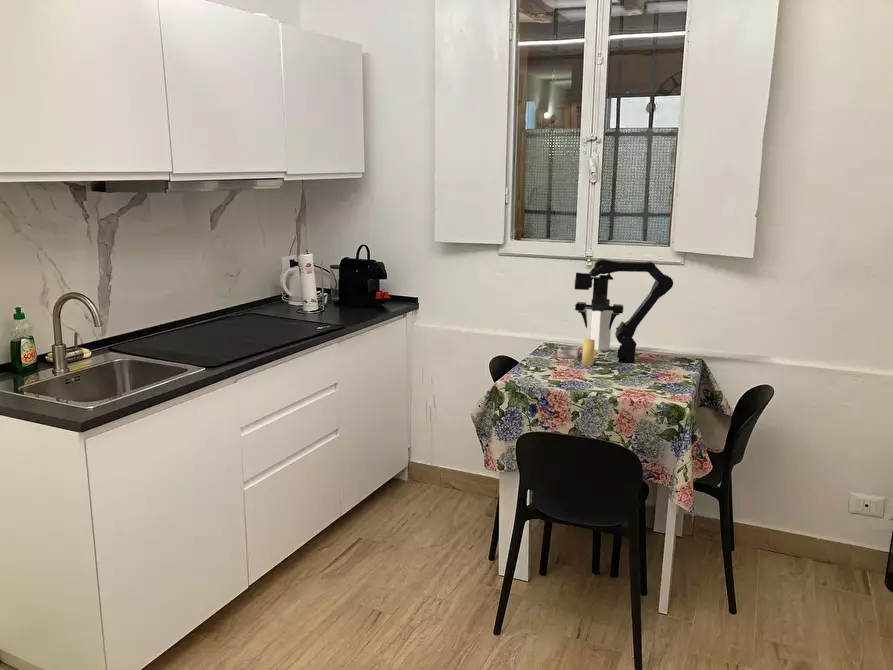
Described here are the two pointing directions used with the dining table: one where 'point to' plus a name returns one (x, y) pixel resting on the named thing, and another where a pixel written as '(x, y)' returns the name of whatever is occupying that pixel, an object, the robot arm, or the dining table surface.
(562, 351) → the stand
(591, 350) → the post
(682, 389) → the dining table surface
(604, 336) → the milk
